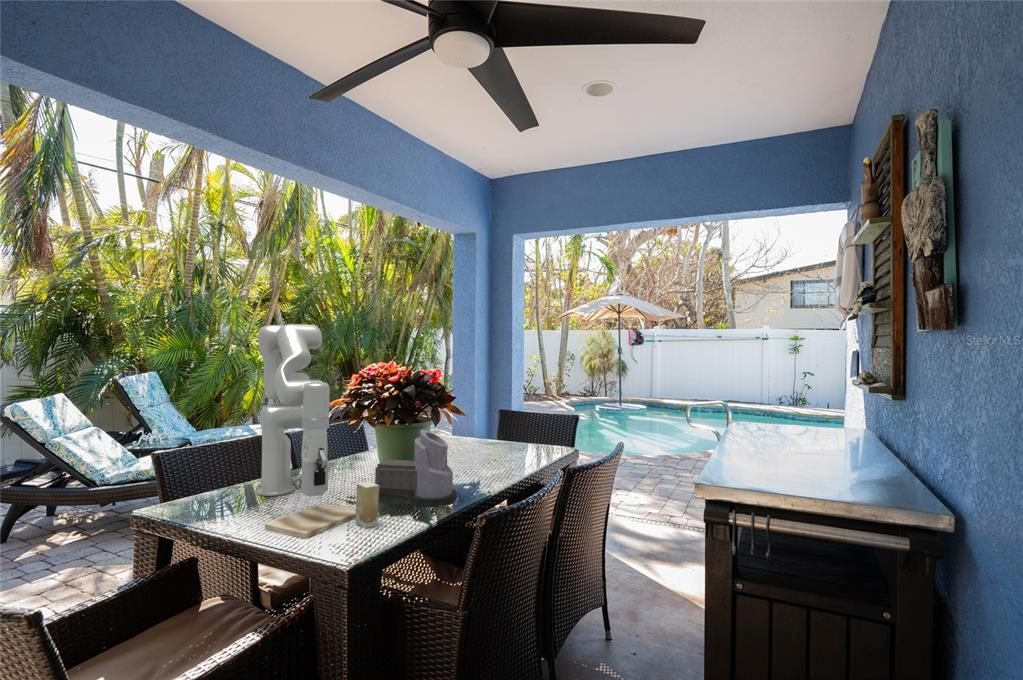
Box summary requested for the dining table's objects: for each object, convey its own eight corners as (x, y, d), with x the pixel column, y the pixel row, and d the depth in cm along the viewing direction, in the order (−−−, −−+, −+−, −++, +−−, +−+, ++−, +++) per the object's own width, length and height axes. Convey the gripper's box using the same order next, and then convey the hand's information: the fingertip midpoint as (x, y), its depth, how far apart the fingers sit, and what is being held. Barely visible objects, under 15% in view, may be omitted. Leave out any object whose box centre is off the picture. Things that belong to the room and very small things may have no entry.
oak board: (321, 508, 176) (321, 504, 176) (359, 516, 169) (360, 511, 169) (264, 529, 156) (264, 524, 156) (305, 538, 149) (305, 533, 149)
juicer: (464, 495, 194) (465, 427, 194) (453, 509, 178) (454, 435, 178) (384, 491, 198) (385, 424, 198) (366, 504, 182) (367, 431, 182)
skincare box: (354, 523, 163) (355, 482, 163) (367, 520, 166) (368, 480, 166) (365, 529, 158) (366, 487, 158) (378, 525, 161) (379, 484, 161)
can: (311, 489, 167) (312, 450, 167) (332, 491, 165) (333, 451, 165) (295, 495, 160) (296, 455, 160) (317, 497, 158) (318, 456, 158)
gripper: (294, 421, 167) (293, 478, 167) (312, 428, 154) (311, 490, 154) (318, 419, 172) (317, 474, 172) (338, 426, 158) (337, 486, 158)
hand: (314, 481), depth 163 cm, fingers closed on can, 7 cm apart
